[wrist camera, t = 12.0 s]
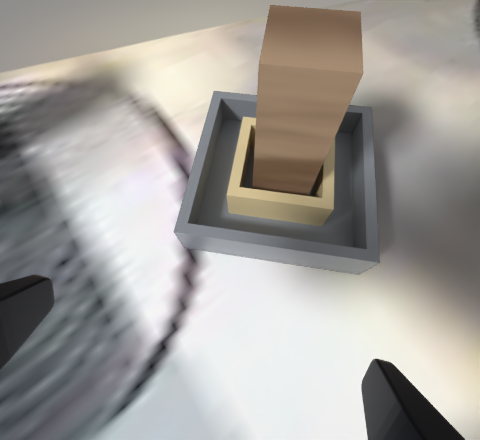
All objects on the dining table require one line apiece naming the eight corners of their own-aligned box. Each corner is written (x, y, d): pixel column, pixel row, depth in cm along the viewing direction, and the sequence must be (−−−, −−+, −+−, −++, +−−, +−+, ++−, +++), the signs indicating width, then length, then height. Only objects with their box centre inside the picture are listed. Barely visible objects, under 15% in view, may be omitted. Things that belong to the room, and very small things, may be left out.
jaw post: (304, 205, 22) (363, 73, 11) (251, 198, 22) (258, 63, 11) (307, 162, 24) (360, 11, 13) (258, 156, 24) (270, 4, 13)
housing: (358, 274, 21) (383, 260, 17) (184, 247, 22) (171, 229, 18) (356, 135, 26) (374, 102, 23) (217, 119, 27) (213, 86, 24)
